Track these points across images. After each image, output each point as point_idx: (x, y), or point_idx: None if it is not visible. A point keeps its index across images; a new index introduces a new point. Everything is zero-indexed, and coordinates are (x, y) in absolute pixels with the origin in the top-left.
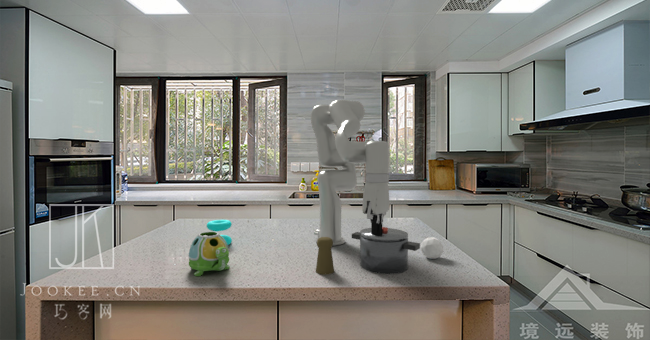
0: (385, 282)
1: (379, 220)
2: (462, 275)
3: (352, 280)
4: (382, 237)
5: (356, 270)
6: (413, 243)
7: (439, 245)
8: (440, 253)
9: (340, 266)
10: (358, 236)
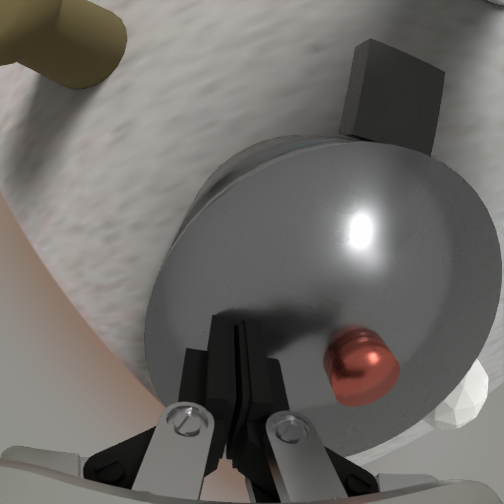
0: (117, 316)
1: (201, 489)
2: None
3: (59, 203)
4: (173, 401)
5: (164, 164)
6: None
7: (435, 427)
8: None
9: (175, 69)
10: (353, 107)
